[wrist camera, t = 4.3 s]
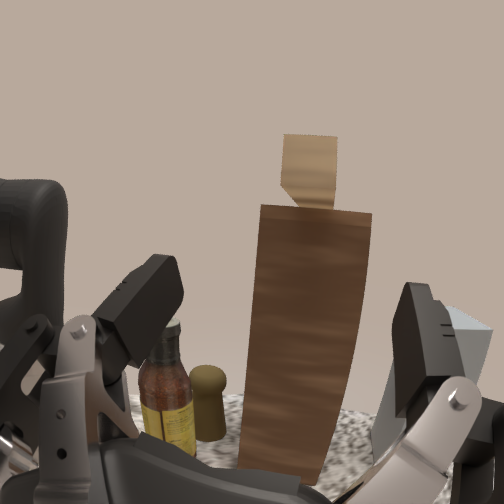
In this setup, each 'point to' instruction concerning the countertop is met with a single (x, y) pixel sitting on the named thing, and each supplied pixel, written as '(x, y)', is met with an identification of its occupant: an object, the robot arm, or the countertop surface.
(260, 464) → the tall walnut stand
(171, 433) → the sauce bottle
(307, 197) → the beech bar
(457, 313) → the grey rectangular block
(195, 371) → the cork
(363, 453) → the countertop surface
